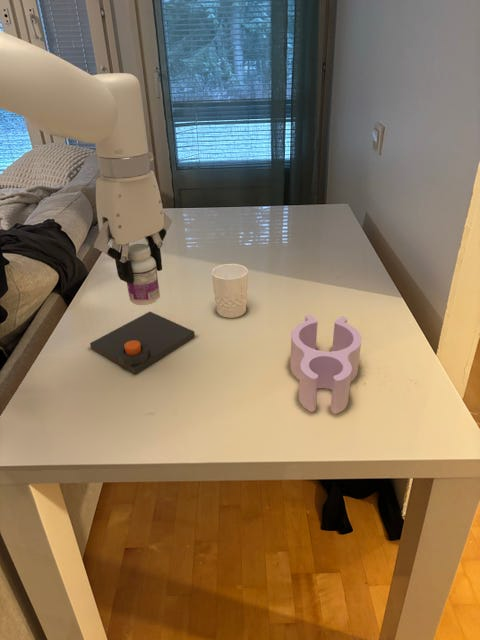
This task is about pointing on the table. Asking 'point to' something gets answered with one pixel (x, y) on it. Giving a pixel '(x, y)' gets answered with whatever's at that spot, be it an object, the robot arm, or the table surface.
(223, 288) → the white cup
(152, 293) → the pill bottle
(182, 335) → the scale
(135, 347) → the button
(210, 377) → the table surface
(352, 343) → the clip
